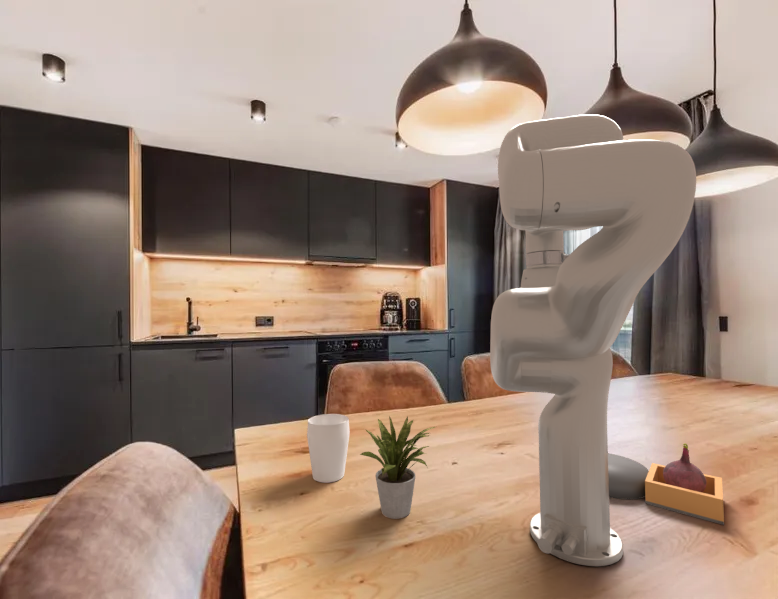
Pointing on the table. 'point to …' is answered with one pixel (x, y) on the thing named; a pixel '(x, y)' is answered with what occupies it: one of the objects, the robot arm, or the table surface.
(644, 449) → the table surface
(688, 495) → the dome with orange frame
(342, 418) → the cup
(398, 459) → the house plant
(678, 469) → the vegetable
